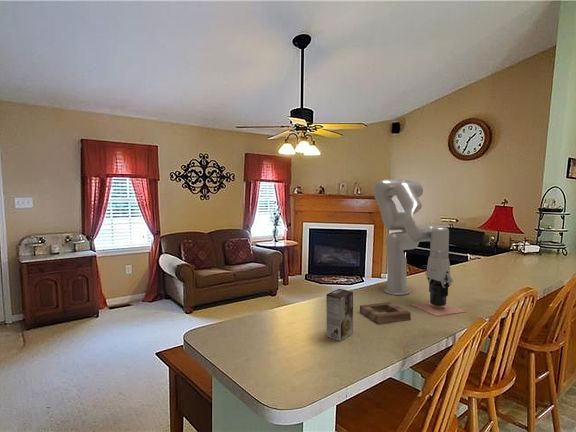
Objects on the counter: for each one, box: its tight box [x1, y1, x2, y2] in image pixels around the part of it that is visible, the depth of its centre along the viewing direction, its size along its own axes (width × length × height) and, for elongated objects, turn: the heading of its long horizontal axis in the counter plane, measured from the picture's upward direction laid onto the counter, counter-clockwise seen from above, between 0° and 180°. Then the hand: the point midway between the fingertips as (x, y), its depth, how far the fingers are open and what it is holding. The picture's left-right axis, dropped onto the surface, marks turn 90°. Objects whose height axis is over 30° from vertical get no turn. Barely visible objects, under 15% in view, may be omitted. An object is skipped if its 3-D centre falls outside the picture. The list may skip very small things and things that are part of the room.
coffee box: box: [326, 288, 354, 342], centre depth 129 cm, size 9×6×16 cm
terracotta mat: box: [411, 301, 467, 317], centre depth 158 cm, size 16×16×1 cm
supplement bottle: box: [429, 280, 448, 306], centre depth 157 cm, size 7×7×12 cm
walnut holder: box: [359, 301, 412, 325], centre depth 149 cm, size 15×15×3 cm
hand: (438, 293), depth 157 cm, fingers closed on supplement bottle, 6 cm apart
